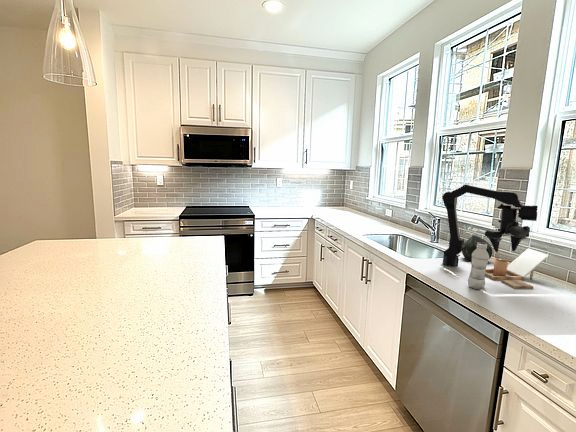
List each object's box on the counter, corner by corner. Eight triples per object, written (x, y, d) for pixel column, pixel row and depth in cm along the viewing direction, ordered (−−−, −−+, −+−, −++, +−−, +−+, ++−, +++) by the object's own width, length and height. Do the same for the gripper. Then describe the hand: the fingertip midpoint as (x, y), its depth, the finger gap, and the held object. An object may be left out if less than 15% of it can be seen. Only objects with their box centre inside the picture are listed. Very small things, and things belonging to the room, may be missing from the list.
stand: (513, 290, 131) (514, 286, 131) (500, 284, 138) (501, 280, 138) (532, 290, 132) (533, 286, 132) (519, 284, 139) (519, 280, 139)
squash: (503, 255, 166) (488, 231, 173) (484, 258, 161) (469, 233, 168) (482, 265, 178) (468, 242, 185) (464, 268, 172) (451, 245, 179)
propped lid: (522, 282, 142) (527, 254, 140) (503, 273, 153) (508, 247, 150) (544, 282, 143) (549, 254, 141) (524, 273, 154) (528, 248, 151)
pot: (498, 277, 144) (500, 261, 142) (489, 273, 149) (492, 257, 147) (508, 277, 144) (511, 261, 143) (499, 273, 149) (502, 257, 148)
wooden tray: (492, 282, 140) (493, 276, 140) (476, 273, 151) (476, 268, 151) (522, 282, 142) (523, 277, 141) (504, 273, 153) (505, 268, 152)
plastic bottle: (481, 286, 134) (488, 242, 131) (486, 292, 128) (493, 246, 125) (465, 284, 137) (471, 240, 133) (468, 289, 130) (475, 244, 127)
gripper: (505, 222, 133) (502, 256, 135) (542, 221, 136) (538, 255, 138) (485, 218, 144) (482, 250, 146) (519, 217, 147) (516, 249, 149)
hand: (504, 251), depth 144 cm, fingers open, 9 cm apart
